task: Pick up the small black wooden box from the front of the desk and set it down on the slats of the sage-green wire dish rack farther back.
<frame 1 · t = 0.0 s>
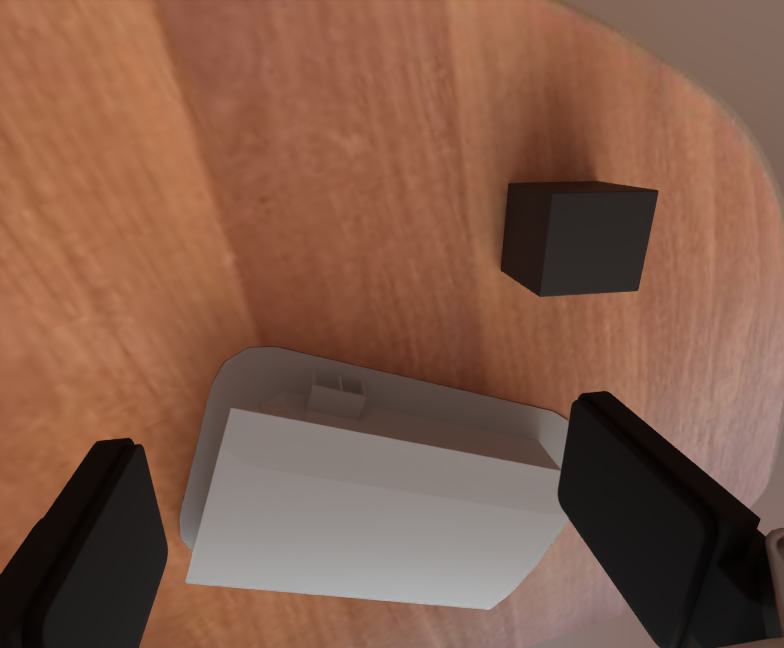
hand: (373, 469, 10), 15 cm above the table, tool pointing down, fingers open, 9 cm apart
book: (384, 483, 29), on the table
box: (548, 226, 25), on the table
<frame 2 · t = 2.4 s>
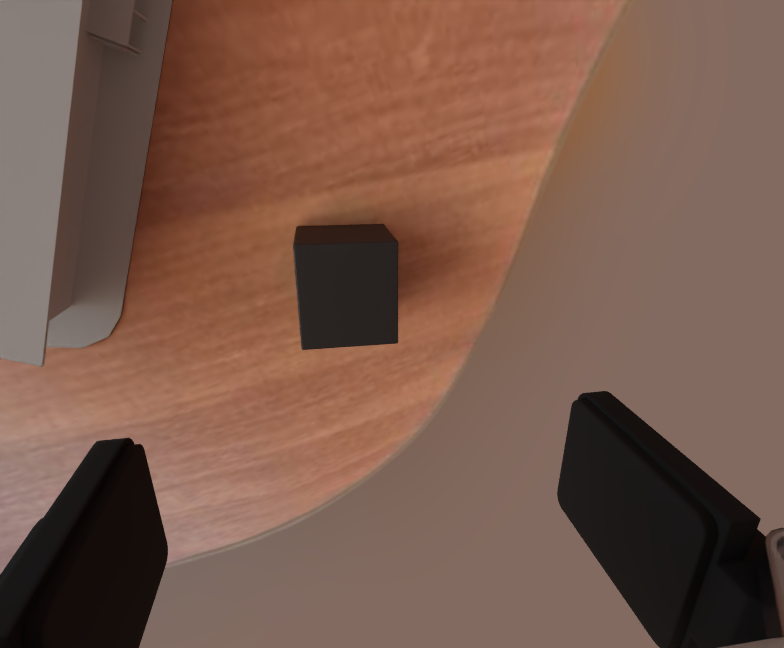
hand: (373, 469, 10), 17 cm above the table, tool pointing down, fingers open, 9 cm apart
box: (342, 270, 25), on the table
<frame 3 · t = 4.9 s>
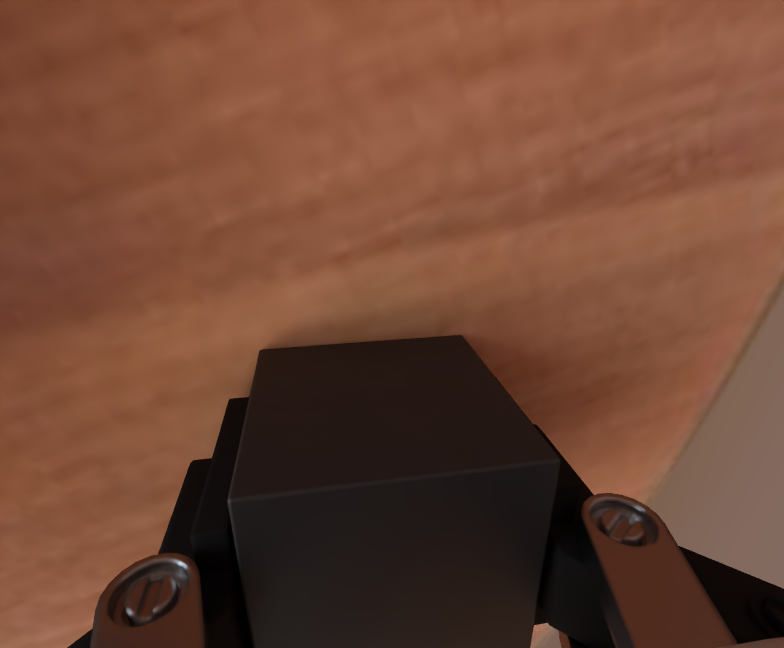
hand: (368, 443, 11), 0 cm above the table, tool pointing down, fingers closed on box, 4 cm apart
box: (366, 434, 11), on the table, touching gripper
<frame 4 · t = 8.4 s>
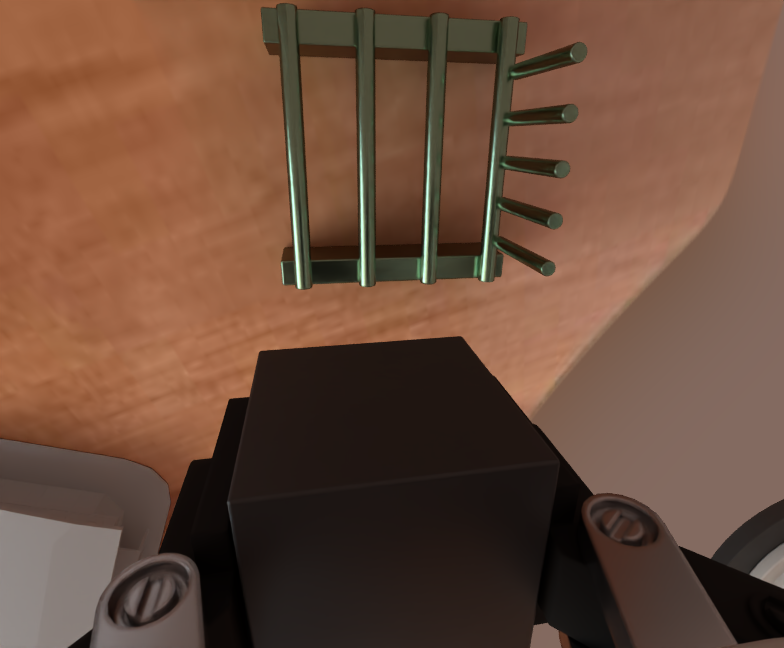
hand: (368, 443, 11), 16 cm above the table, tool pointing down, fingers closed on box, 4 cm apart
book: (16, 589, 29), on the table
rack: (387, 158, 24), on the table
box: (366, 435, 11), point 15 cm above the table, touching gripper
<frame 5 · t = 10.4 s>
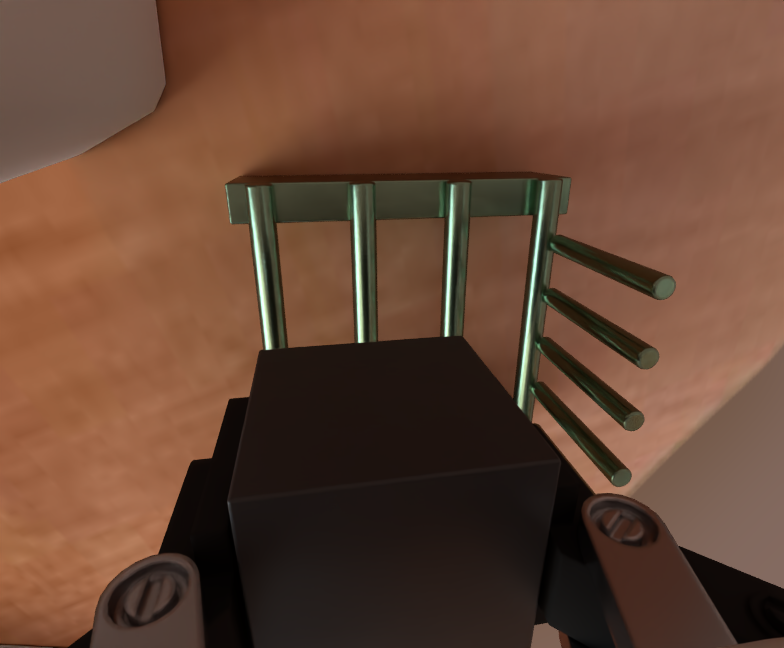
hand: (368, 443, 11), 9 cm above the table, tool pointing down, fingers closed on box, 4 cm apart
rack: (392, 315, 19), on the table
cup: (42, 25, 14), on the table
box: (366, 434, 11), point 8 cm above the table, touching gripper
when the fingers open (4 cm above the table, at t = 11.9 s): box stays where it is, resting on rack.
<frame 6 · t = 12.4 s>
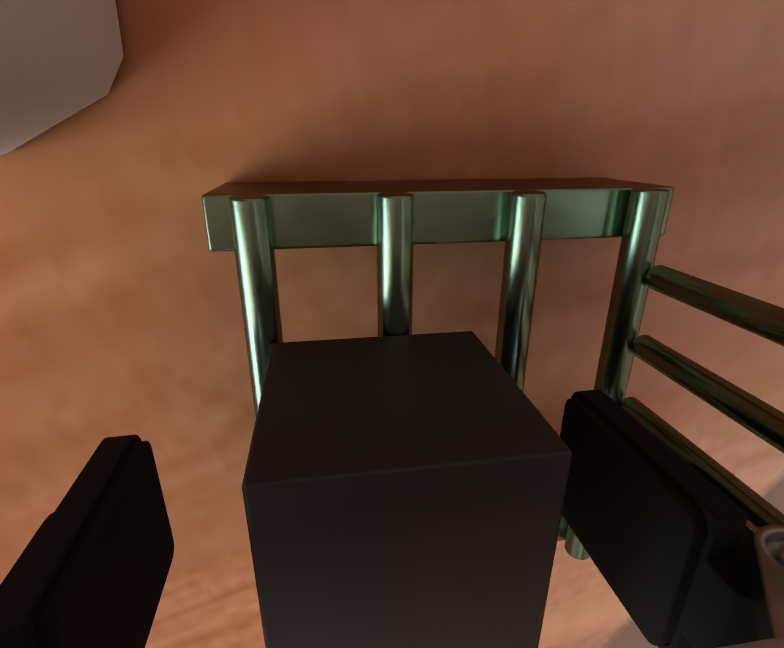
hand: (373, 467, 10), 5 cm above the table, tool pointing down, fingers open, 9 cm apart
rack: (421, 357, 15), on the table
box: (376, 429, 11), point 4 cm above the table, touching rack
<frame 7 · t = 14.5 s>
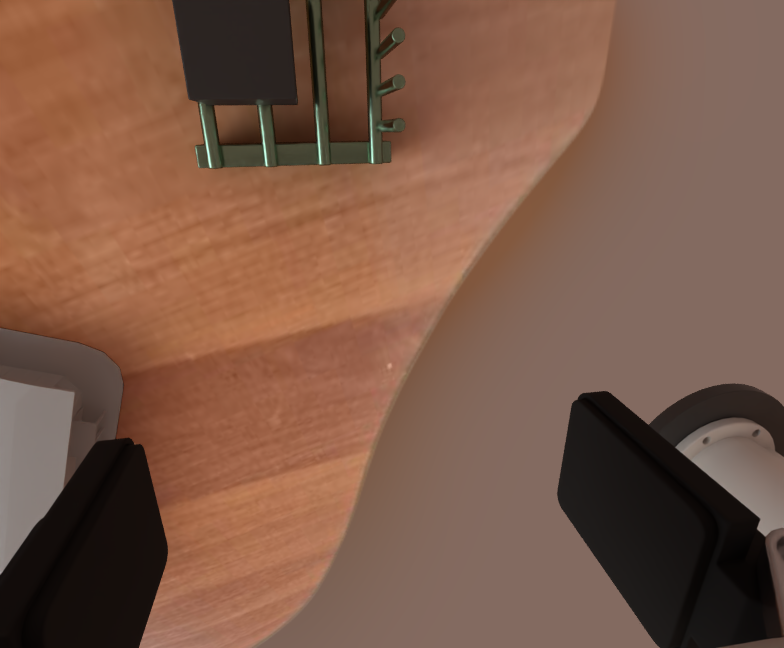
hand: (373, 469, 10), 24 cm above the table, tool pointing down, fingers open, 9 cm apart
rack: (289, 62, 27), on the table
box: (247, 50, 24), point 4 cm above the table, touching rack
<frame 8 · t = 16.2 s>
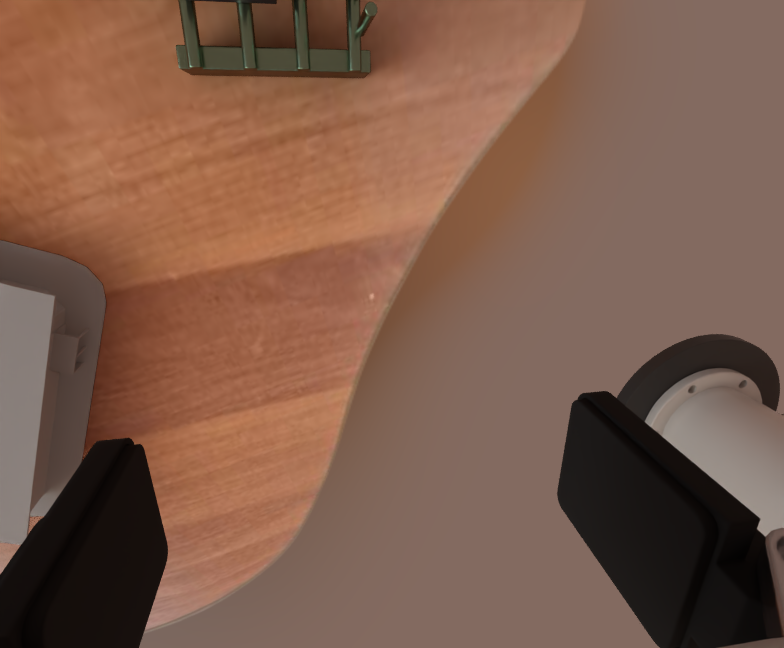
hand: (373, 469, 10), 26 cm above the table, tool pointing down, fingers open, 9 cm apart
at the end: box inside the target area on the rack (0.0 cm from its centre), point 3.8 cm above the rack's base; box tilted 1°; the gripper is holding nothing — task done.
